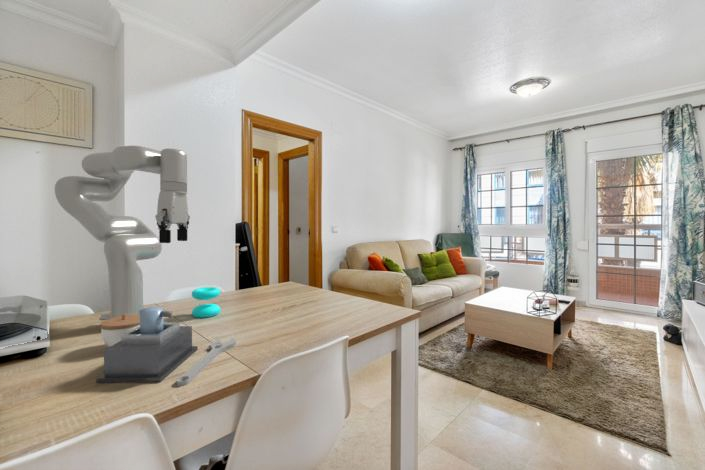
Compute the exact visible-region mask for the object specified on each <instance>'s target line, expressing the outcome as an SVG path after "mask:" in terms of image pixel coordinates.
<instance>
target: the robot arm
mask: <svg viewBox="0 0 705 470" xmlns="http://www.w3.org/2000/svg"><path fill="white" fill-rule="evenodd" d="M81 168H82V169H83V171H84V172H85V173H86V174H88V175H89V177H88V176H79V175H69V176H64V177H61V178H58V180H56V182H55V184H54V194H55V195H54V196H55V198H56V200H57V202H58V204H59V206H61V208H62V209H63V210H64V211H65V212H66V213H67V214H68V215H70V216H71V217H72V218H74V220H75V219H76V221H78V223H80V224H81V226H83V227H84V228H85V230H86V231H87V232H88V233H89V234H90V235H91V236H92V237H93V238H94V239H96V240H97V241H99V242H102V243H104V245H103V253H104V256H105V261H106V263H107V270H108V272H107V273H108V293H109V294H108V295H109V298H108V299H109V312H103V313H101V315H100V316H99V319H98V320H99V321H105V320H107V319H110V318H114V317H119V316H122V314H126V315H140V314H139V311H140V310H141V309H144V282H143V281H144V280H143V275H144V274H143V271H142V269H141V267H140V266H139V264H138V263H137V261H142V260H143V261H144V260H151V259H154V258H156V257H158V256H160V254H161V253H162V249H163V246H162V244H171V241H172V239H171V237H172V235H171V232H172V231H171V230H170V228H171V226H172V224H173V225H177V229H176V232H177V233H176V235H177V236H176V237H177V238H176V239H177V241H178V242H179V241H180V242H187V241H188V230H189V225H190V219H191V217H190V215H189V208H188V198H187V195H188V155H187V153H186V151H184V150H181V149H178V148H163V149H161V151H160V150H157V149H153V148H149V147H145V146H140V145H123V146H116V147H114V149H113V150H112V151H107V152H106V151H105V152H95V153H94V152H93V153H89V154H88V155H85V156H84V157H83V159H82V160H81ZM135 171H139V172H143V173H144V172H146V173H152V174H157V175H159V178H160V180H159V181H160V183H159V185H160V188H159V189H160V190H159V194H158V199H157V207H156V209H157V210H156V211H157V212H156V214H155V216H154V218H155V220H156V225H157V229H158V230H159V232H158V233H159V237H158V235H156V233H155V232H153V230H151V229H150V228H149V227H148V226H147V225H146V224H145V223H144V222H143V221H142V220H141V219H138V218H137V217H134V216H129V215H128V216H127V215H123V216H122V215H113V214H112V213H109V212H108V211H107V210H106V209H105V208H104V207H103V206H101V205H100V204H98V203H96V202H110V201H112V200H114V199H115V198H116V197H117V196H118V195H119V193H120V192H121V191H122V189H123V188H124V186H125V185H126V184H127V183H128V181H129V180H130V178H131V176H132V174H133V173H134V172H135ZM90 176H92V177H90Z"/></svg>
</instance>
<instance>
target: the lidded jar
mask: <svg viewBox="0 0 705 470" xmlns="http://www.w3.org/2000/svg"><path fill="white" fill-rule="evenodd" d="M99 326H100V330H101V332H100V333H101V338H102V341H103V343H104V344H105V345H106V346H107V348H109V347H111V346H112V345H114V344H116V343H118V342H120V341H121V336H122V335H124V334H126V333H127V332H129V331H131V330H133V329H135V328H137V327H139V326H140V315H126V314H122V316H119V317H114V318H110V319H107V320H102V322H101V323H100V325H99Z"/></svg>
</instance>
